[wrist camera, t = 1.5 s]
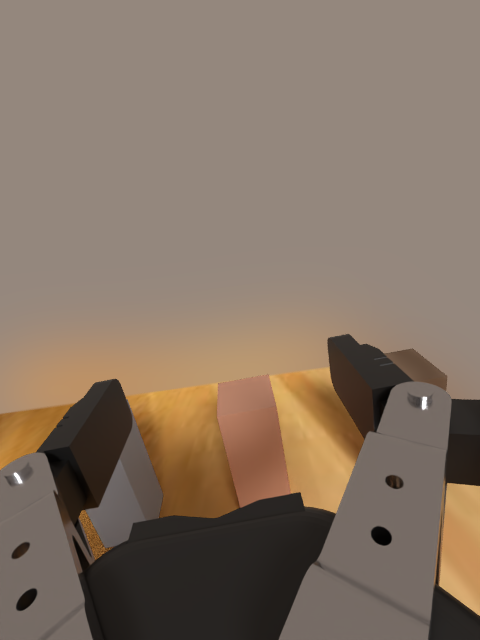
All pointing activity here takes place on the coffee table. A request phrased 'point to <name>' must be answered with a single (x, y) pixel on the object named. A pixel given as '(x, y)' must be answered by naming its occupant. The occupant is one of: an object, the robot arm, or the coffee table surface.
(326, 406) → the coffee table surface
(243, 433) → the pillar terracotta
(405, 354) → the pillar walnut
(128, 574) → the robot arm
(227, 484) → the coffee table surface
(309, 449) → the coffee table surface
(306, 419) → the coffee table surface
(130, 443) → the pillar slate
